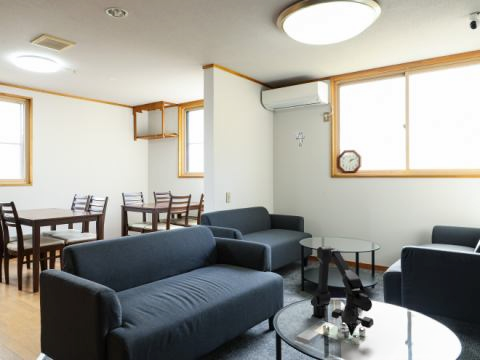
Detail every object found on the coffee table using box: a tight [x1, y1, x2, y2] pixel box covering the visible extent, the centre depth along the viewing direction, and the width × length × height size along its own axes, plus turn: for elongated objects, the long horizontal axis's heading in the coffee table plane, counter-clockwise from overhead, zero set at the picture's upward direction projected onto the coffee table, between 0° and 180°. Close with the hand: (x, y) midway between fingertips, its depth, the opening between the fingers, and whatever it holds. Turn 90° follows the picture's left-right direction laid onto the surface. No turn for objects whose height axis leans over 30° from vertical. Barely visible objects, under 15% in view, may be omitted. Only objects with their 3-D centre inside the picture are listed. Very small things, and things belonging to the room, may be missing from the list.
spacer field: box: [323, 321, 366, 347], centre depth 166 cm, size 18×13×4 cm
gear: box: [337, 326, 349, 338], centre depth 166 cm, size 6×6×3 cm
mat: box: [313, 322, 368, 346], centre depth 167 cm, size 22×13×1 cm, turn 50°
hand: (351, 335), depth 163 cm, fingers closed
